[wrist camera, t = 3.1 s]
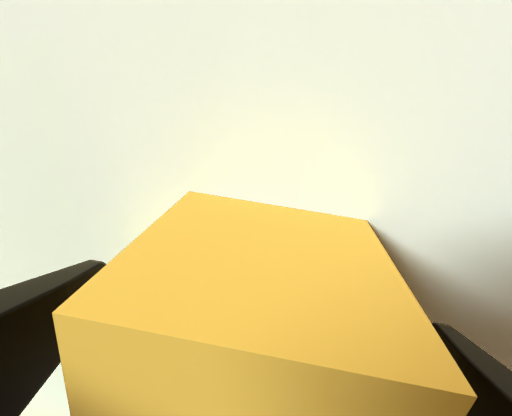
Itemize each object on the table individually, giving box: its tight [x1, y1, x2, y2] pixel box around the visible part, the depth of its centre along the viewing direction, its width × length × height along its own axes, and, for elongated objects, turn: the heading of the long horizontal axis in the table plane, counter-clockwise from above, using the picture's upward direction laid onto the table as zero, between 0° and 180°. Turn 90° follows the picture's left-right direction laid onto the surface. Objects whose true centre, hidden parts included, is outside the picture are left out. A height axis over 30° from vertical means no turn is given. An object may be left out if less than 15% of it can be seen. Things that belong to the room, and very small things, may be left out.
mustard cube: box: [52, 191, 477, 416], centre depth 6 cm, size 5×5×5 cm
